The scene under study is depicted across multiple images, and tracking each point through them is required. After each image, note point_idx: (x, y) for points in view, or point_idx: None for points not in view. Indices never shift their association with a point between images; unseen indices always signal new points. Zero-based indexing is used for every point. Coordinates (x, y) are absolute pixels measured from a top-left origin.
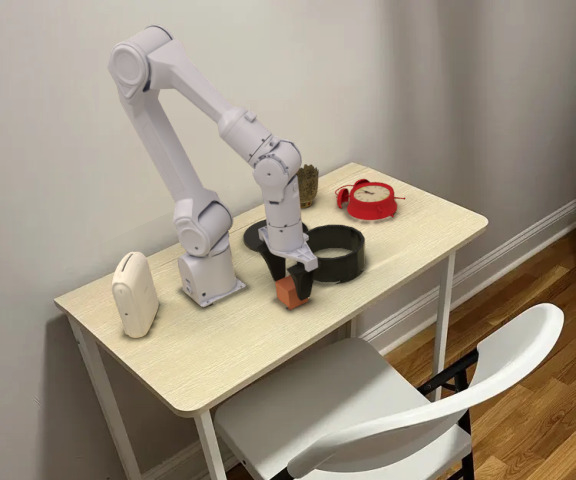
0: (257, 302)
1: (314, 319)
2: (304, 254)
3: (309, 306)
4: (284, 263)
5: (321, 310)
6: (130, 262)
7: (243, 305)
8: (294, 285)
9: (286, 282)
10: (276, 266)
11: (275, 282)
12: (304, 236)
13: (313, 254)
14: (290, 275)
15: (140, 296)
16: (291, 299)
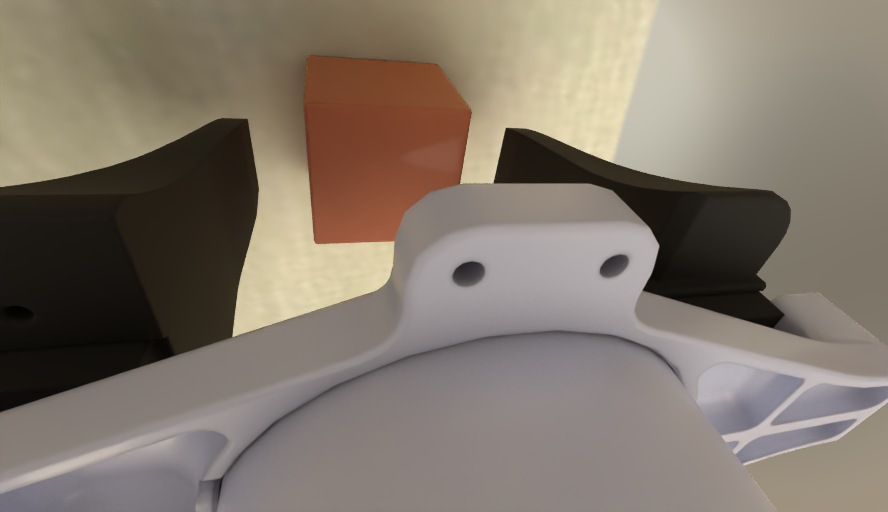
0: (265, 245)
1: (557, 138)
2: (779, 429)
3: (474, 90)
4: (216, 158)
5: (545, 68)
6: None
7: (247, 292)
8: (437, 187)
9: (371, 202)
10: (230, 232)
11: (318, 242)
12: (593, 293)
13: (873, 377)
14: (317, 138)
15: None
16: None
